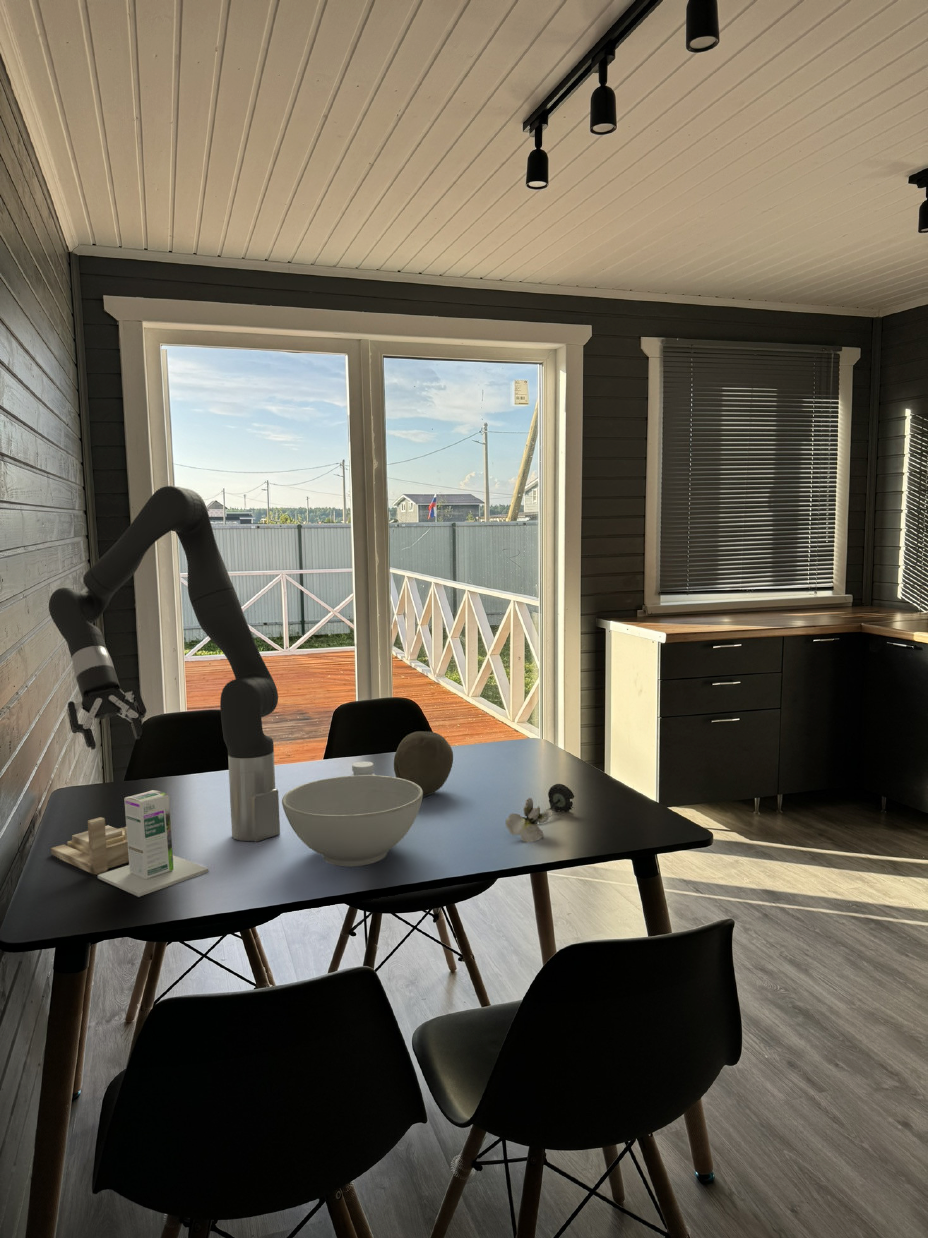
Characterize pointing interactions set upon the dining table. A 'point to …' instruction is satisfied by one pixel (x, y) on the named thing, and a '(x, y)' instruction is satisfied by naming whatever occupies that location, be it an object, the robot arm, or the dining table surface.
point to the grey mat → (142, 886)
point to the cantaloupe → (424, 760)
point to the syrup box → (149, 834)
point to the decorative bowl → (353, 816)
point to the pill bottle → (362, 768)
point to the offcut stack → (77, 840)
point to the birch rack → (95, 850)
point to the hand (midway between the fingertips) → (116, 742)
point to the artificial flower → (528, 825)
